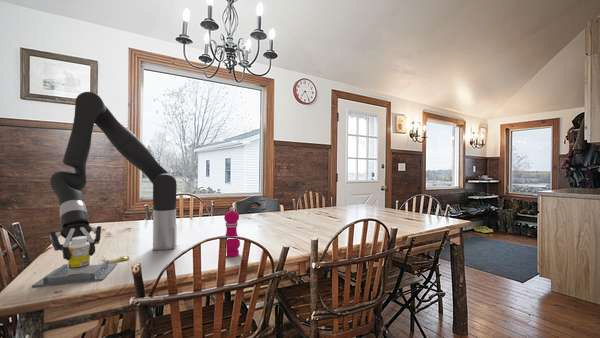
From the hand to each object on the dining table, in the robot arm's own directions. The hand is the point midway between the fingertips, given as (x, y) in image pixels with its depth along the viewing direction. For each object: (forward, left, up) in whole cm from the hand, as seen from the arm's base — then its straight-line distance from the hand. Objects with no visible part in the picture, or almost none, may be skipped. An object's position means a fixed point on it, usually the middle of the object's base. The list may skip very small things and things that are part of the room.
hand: (80, 256), depth 88 cm
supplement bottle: (+1, -2, -4) cm, 5 cm away
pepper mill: (-49, -8, -7) cm, 50 cm away
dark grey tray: (+1, -1, -7) cm, 7 cm away
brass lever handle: (-7, -12, -7) cm, 16 cm away
